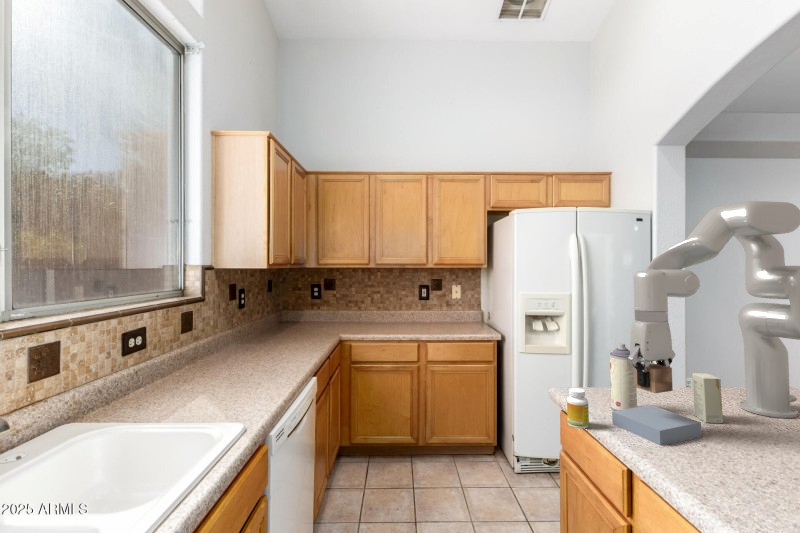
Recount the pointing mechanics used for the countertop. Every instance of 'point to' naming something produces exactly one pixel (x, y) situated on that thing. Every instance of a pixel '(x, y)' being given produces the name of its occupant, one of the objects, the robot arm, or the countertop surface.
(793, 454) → the countertop surface
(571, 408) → the supplement bottle
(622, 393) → the aerosol can
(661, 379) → the walnut cube
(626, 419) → the slate base block
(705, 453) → the countertop surface
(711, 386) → the skincare box
